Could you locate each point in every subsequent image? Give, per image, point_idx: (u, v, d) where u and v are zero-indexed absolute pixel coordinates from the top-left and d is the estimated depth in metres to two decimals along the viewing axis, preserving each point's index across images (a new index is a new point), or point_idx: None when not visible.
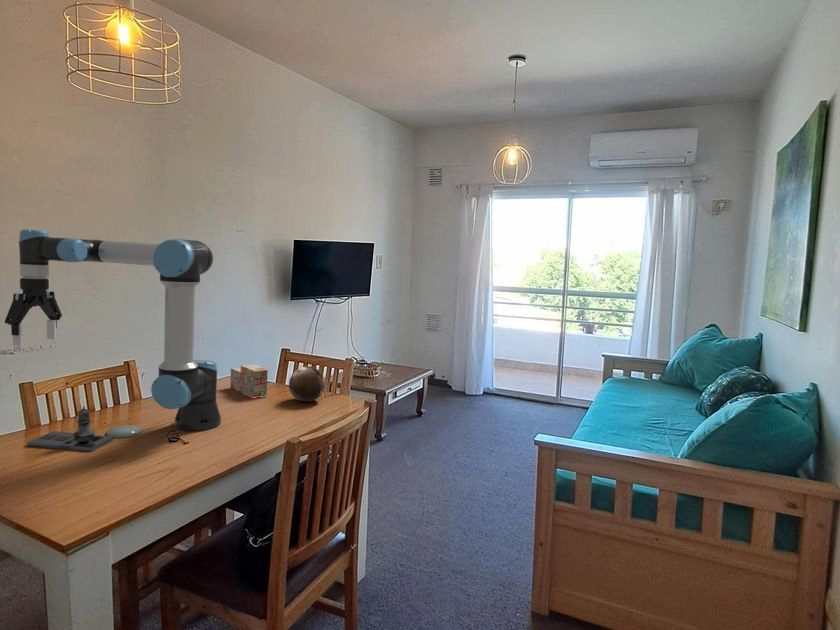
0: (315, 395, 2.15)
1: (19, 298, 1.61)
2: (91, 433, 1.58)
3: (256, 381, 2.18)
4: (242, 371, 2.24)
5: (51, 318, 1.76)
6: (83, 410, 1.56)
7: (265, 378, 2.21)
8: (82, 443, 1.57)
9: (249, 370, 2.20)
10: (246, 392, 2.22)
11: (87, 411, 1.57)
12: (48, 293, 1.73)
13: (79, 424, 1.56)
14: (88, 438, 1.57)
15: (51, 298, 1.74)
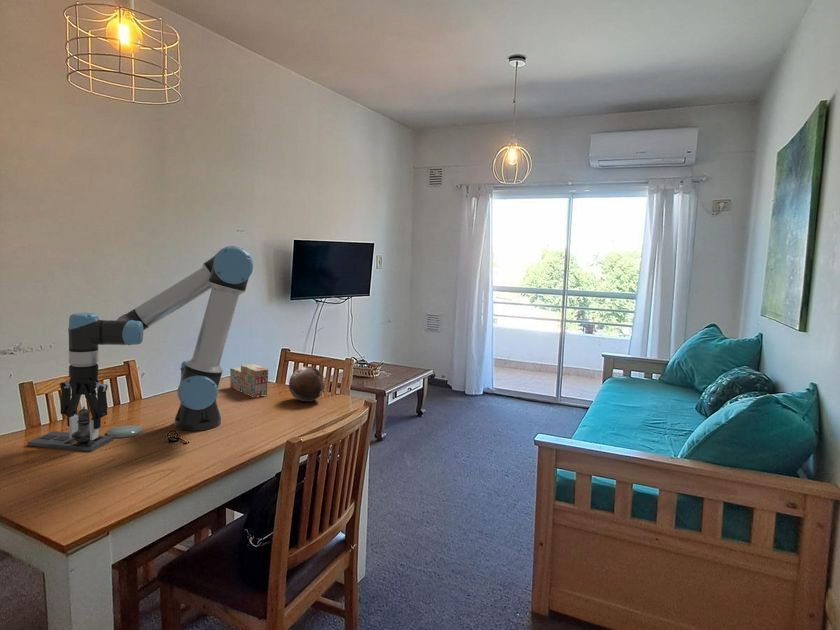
0: (315, 395, 2.15)
1: None
2: None
3: (257, 381, 2.19)
4: (242, 371, 2.25)
5: None
6: (83, 410, 1.56)
7: (266, 377, 2.22)
8: (82, 443, 1.57)
9: (250, 370, 2.21)
10: (246, 392, 2.23)
11: (87, 411, 1.57)
12: (99, 386, 1.56)
13: (79, 424, 1.56)
14: (88, 438, 1.57)
15: None
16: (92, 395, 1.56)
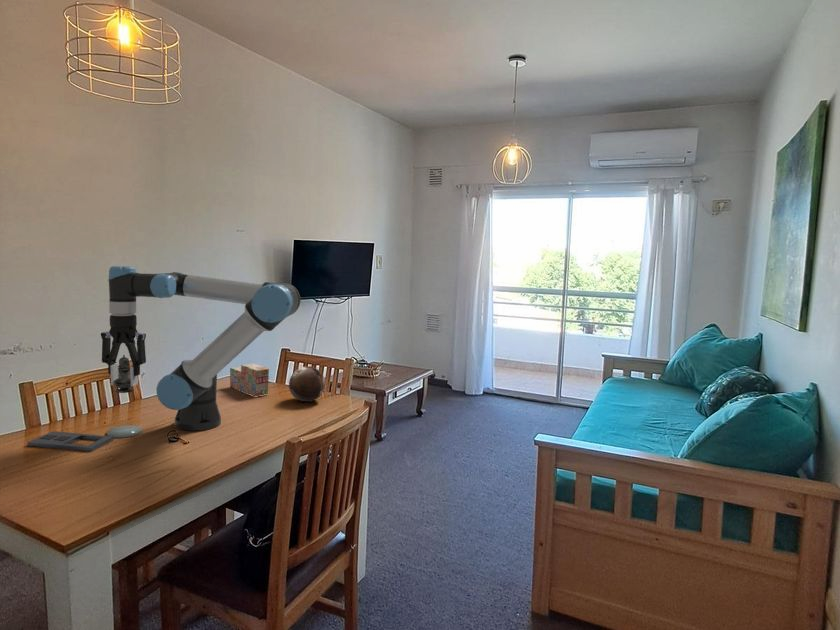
0: (315, 395, 2.15)
1: None
2: None
3: (258, 380, 2.20)
4: (243, 370, 2.25)
5: None
6: (123, 358, 1.66)
7: (266, 377, 2.23)
8: (123, 389, 1.66)
9: (250, 369, 2.21)
10: (247, 391, 2.24)
11: (127, 359, 1.66)
12: (138, 334, 1.65)
13: (120, 371, 1.66)
14: (129, 384, 1.66)
15: None
16: (132, 344, 1.66)
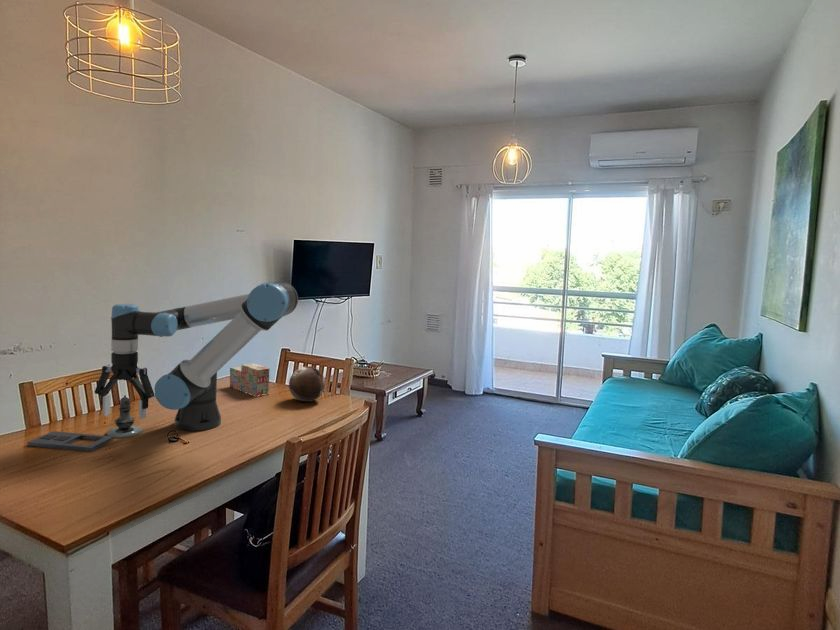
0: (315, 395, 2.15)
1: None
2: (131, 420, 1.69)
3: (258, 380, 2.21)
4: (243, 370, 2.26)
5: None
6: (124, 398, 1.68)
7: (267, 376, 2.24)
8: (123, 429, 1.69)
9: (251, 369, 2.22)
10: (248, 391, 2.25)
11: (128, 399, 1.69)
12: (139, 370, 1.67)
13: (121, 411, 1.68)
14: (129, 424, 1.68)
15: None
16: (135, 379, 1.67)
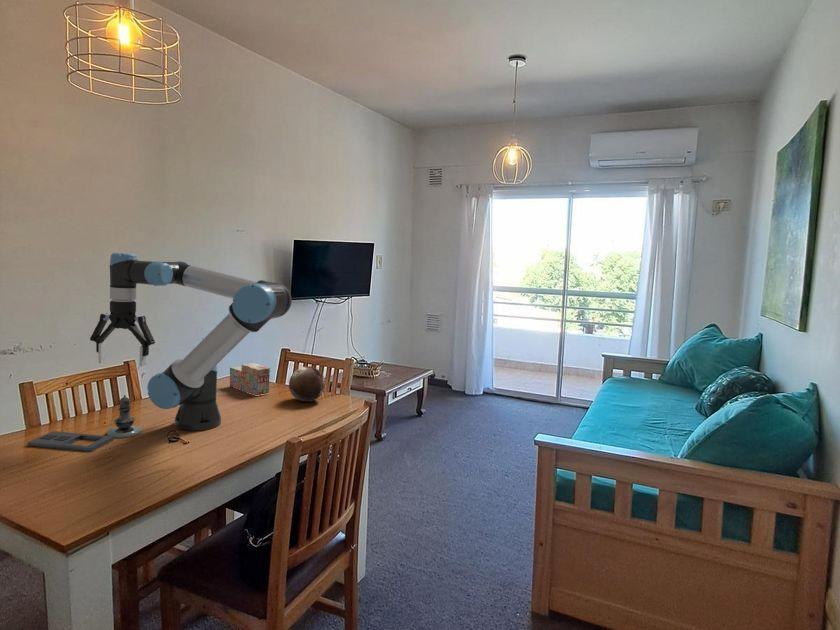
0: (315, 395, 2.15)
1: None
2: (131, 420, 1.69)
3: (259, 379, 2.21)
4: (243, 370, 2.27)
5: None
6: (124, 398, 1.68)
7: (267, 376, 2.24)
8: (123, 429, 1.69)
9: (251, 369, 2.23)
10: (248, 390, 2.25)
11: (128, 399, 1.69)
12: (137, 318, 1.68)
13: (120, 411, 1.68)
14: (129, 424, 1.68)
15: None
16: (134, 327, 1.69)
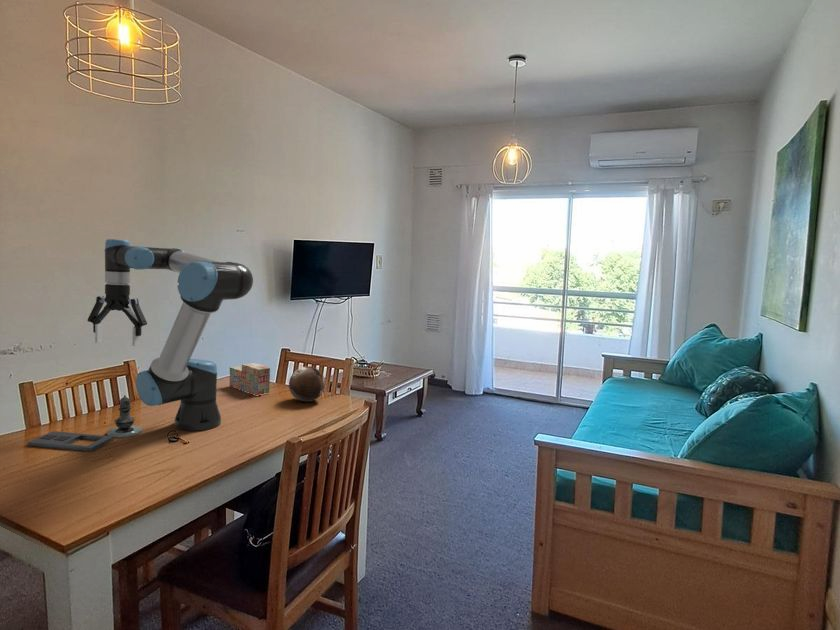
0: (315, 395, 2.15)
1: None
2: (131, 420, 1.69)
3: (259, 379, 2.22)
4: (243, 370, 2.27)
5: None
6: (124, 398, 1.68)
7: (268, 376, 2.25)
8: (123, 429, 1.69)
9: (252, 368, 2.23)
10: (248, 390, 2.26)
11: (128, 399, 1.69)
12: (131, 300, 1.79)
13: (120, 411, 1.68)
14: (129, 424, 1.68)
15: None
16: (128, 309, 1.80)
